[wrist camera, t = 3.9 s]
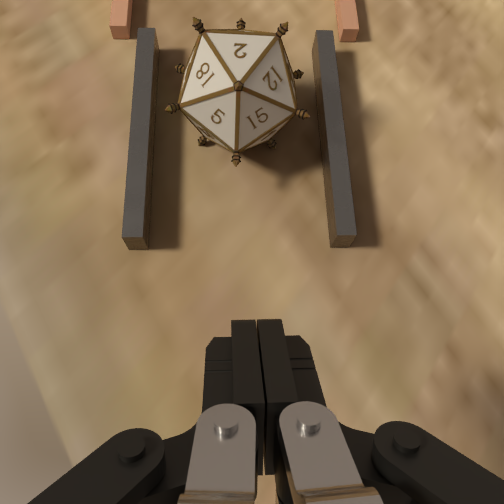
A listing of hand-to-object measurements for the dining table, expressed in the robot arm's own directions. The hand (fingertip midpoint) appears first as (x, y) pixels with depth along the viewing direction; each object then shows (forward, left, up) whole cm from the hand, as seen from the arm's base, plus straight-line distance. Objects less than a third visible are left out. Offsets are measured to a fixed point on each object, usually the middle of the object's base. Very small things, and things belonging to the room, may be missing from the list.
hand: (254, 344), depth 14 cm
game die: (0, -17, -14) cm, 22 cm away
